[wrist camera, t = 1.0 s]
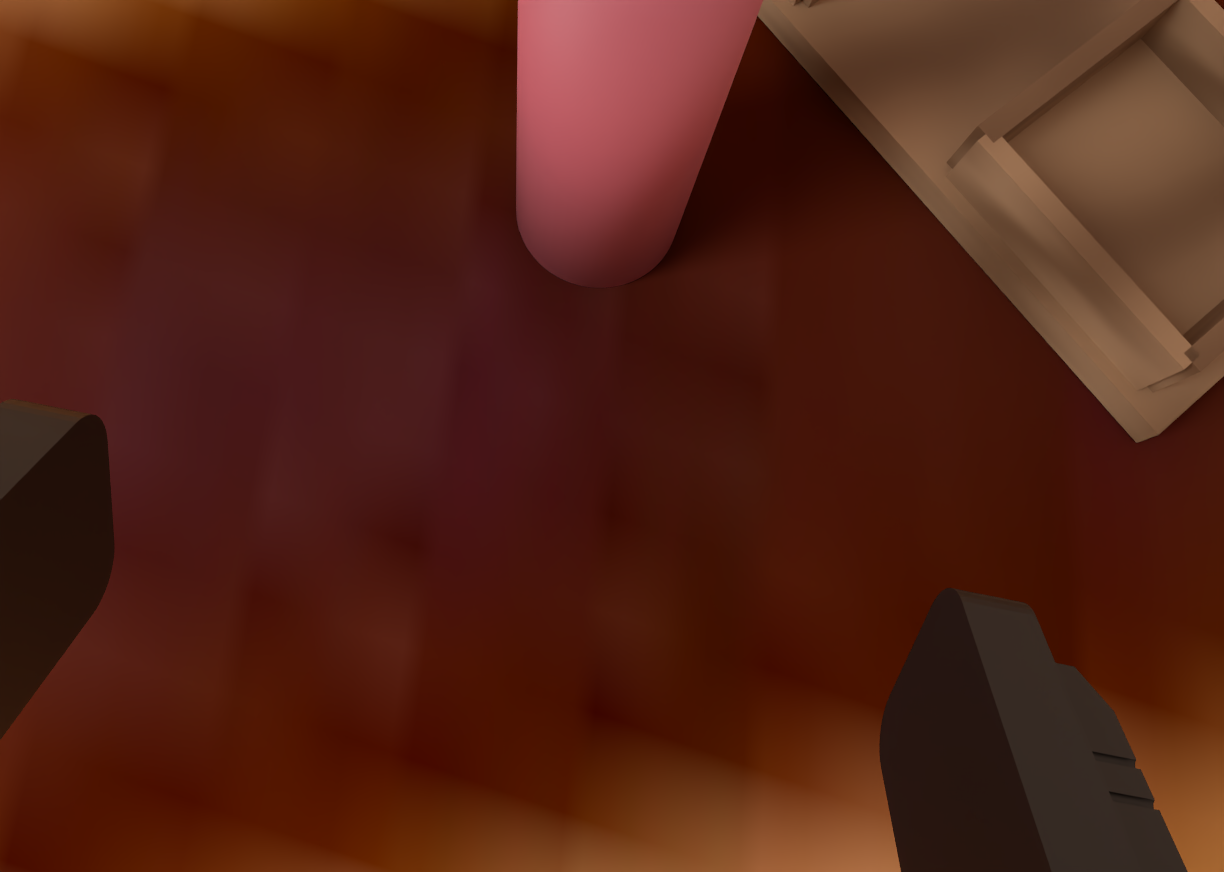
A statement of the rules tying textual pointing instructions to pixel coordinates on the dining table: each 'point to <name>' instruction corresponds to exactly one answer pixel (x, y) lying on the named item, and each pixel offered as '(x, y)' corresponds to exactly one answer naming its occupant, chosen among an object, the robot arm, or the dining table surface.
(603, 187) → the candle loose
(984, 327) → the dining table surface
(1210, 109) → the holder
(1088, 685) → the robot arm
